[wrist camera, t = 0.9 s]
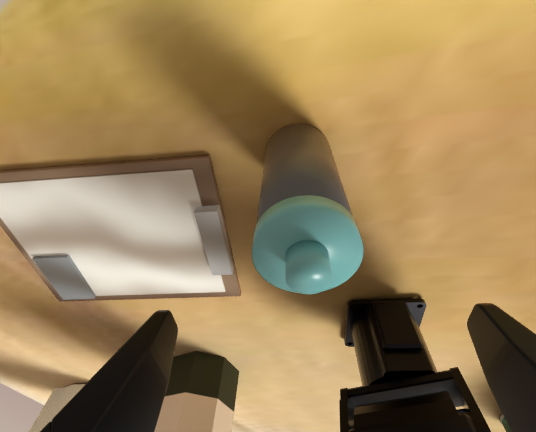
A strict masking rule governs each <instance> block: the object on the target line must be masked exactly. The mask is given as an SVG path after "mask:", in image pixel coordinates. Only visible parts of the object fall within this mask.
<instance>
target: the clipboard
mask: <svg viewBox="0 0 536 432" xmlns="http://www.w3.org/2000/svg"><path fill="white" fill-rule="evenodd" d="M0 226H1V227H2V228H3V230H4V231H5V232H6V233H7V235H8V236H9V237H10V239H11V240H12V241H13V242H14V244H15V245H16V246H17V248H18V249H19V250H20V251H21V253H22V254H23V255H24V257H25V258H26V259H27V260H28V262H29V263H30V264H31V266H32V267H33V268H34V270H35V271H36V272H37V273H38V275H39V276H40V277H41V279H42V280H43V281H44V282H45V284H46V285H47V286H48V288H49V289H50V290H51V291H52V293H53V294H54V295H55V297H56V298H57V299H58V300H59V301H90V300H123V299H157V298H190V297H223V296H241V290H240V286H239V281H238V277H237V272H236V268H235V264H234V259H233V255H232V250H231V246H230V242H229V237H228V233H227V228H226V224H225V220H224V215H223V211H222V206H221V202H220V198H219V193H218V189H217V184H216V180H215V176H214V171H213V167H212V162H211V158H210V155H201V156H188V157H175V158H162V159H149V160H136V161H123V162H110V163H97V164H83V165H70V166H57V167H44V168H31V169H18V170H5V171H0Z"/></svg>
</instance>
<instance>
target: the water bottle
mask: <svg viewBox="0 0 536 432" xmlns="http://www.w3.org/2000/svg"><path fill="white" fill-rule="evenodd" d="M363 252H364V248H363V243H362V240H361V237H360V234H359V231H358V227H357V225H356V222H355V220H354V218H353V216H352V213H351V210H350V207H349V204H348V201H347V198H346V195H345V192H344V189H343V186H342V183H341V180H340V176H339V173H338V170H337V167H336V164H335V161H334V158H333V155H332V152H331V149H330V146H329V143H328V140H327V139H326V137H325V136H324V134H323V133H322V132H321V131H319V130H318V129H317V128H315V127H313V126H310V125H307V124H292V125H288V126H286V127H283V128H282V129H280V130H279V131H277V132H276V133H275V134H274V135H273V136H272V138H271V139H270V141H269V143H268V145H267V148H266V155H265V163H264V171H263V179H262V186H261V194H260V202H259V210H258V218H257V225H256V228H255V232H254V239H253V247H252V259H253V263H254V266H255V268H256V270H257V271H258V273H259V274H260V275H261V276H262V277H263V278H264V279H265V280H266V281H267V282H269V283H270V284H272V285H274V286H276V287H278V288H280V289H283V290H286V291H290V292H295V293H301V294H316V293H319V292H322V291H326V290H329V289H332V288H334V287H337V286H339V285H341V284H342V283H344V282H345V281H347V280H348V279H349V278H350V277H351V276H352V275H353V274H354V273H355V272H356V271H357V270H358V268H359V266H360V264H361V262H362V259H363Z"/></svg>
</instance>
